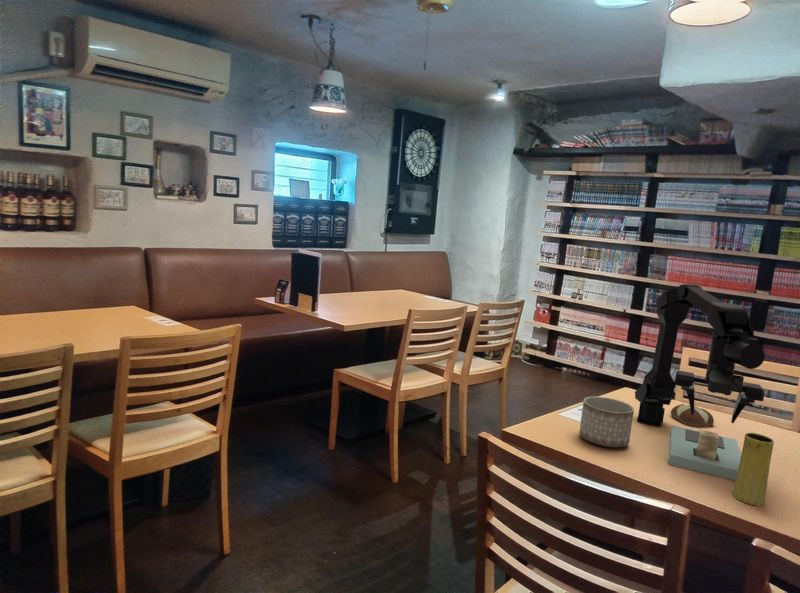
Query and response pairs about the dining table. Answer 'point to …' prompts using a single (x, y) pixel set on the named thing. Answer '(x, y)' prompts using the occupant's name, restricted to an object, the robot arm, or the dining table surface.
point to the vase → (753, 469)
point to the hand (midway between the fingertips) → (712, 418)
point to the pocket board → (685, 456)
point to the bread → (692, 416)
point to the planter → (606, 421)
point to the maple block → (707, 445)
